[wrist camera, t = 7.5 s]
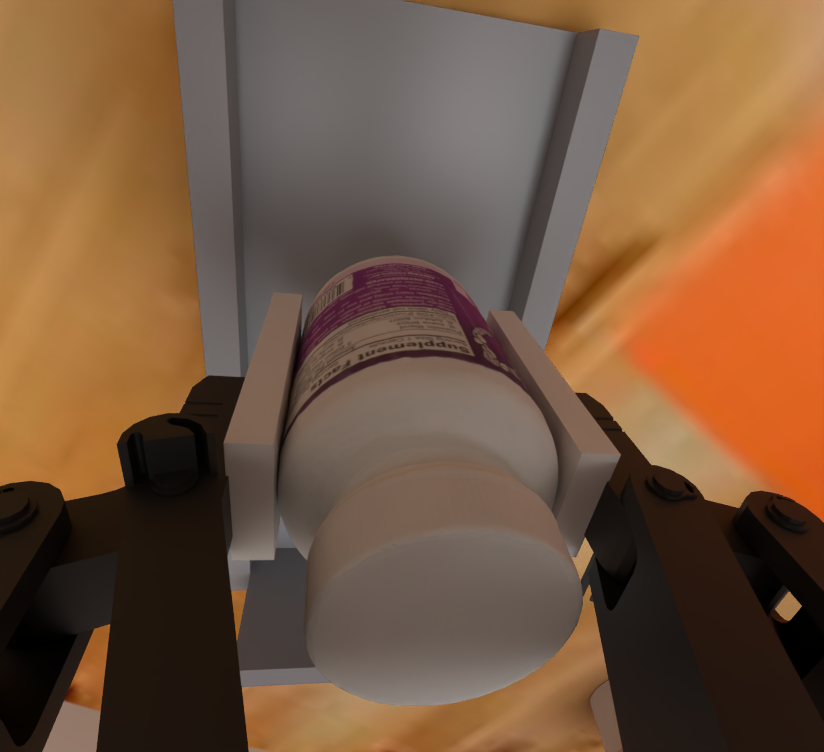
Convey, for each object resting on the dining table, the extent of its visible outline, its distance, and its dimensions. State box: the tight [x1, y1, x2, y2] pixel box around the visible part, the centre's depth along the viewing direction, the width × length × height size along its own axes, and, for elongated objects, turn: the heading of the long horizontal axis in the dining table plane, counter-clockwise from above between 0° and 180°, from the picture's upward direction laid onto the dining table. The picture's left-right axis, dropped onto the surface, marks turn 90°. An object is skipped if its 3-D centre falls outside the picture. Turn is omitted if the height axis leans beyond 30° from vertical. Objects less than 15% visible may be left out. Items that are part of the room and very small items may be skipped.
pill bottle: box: [278, 255, 583, 706], centre depth 11 cm, size 5×5×10 cm
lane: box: [173, 0, 639, 687], centre depth 18 cm, size 24×12×7 cm, turn 172°
